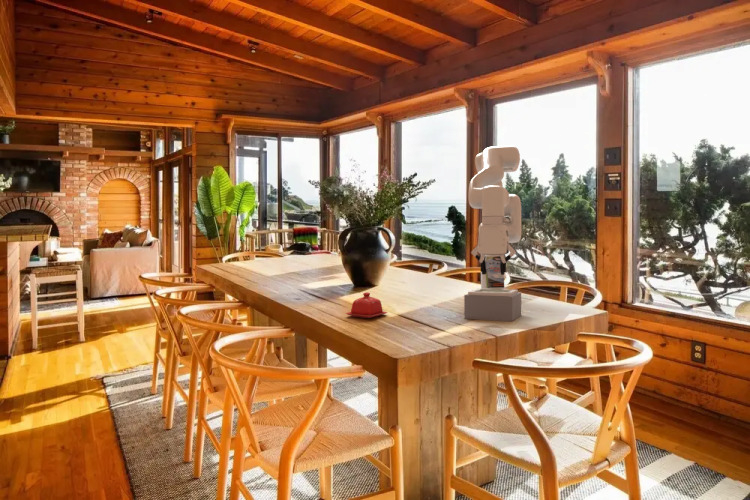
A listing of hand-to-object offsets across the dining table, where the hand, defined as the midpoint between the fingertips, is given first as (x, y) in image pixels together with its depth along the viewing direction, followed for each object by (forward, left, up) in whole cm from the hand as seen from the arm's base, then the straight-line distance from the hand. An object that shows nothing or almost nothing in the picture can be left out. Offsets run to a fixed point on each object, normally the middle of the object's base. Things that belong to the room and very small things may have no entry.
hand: (493, 273), depth 189 cm
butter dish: (+14, -42, -15) cm, 47 cm away
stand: (0, 0, -15) cm, 15 cm away
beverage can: (0, +1, -6) cm, 6 cm away
